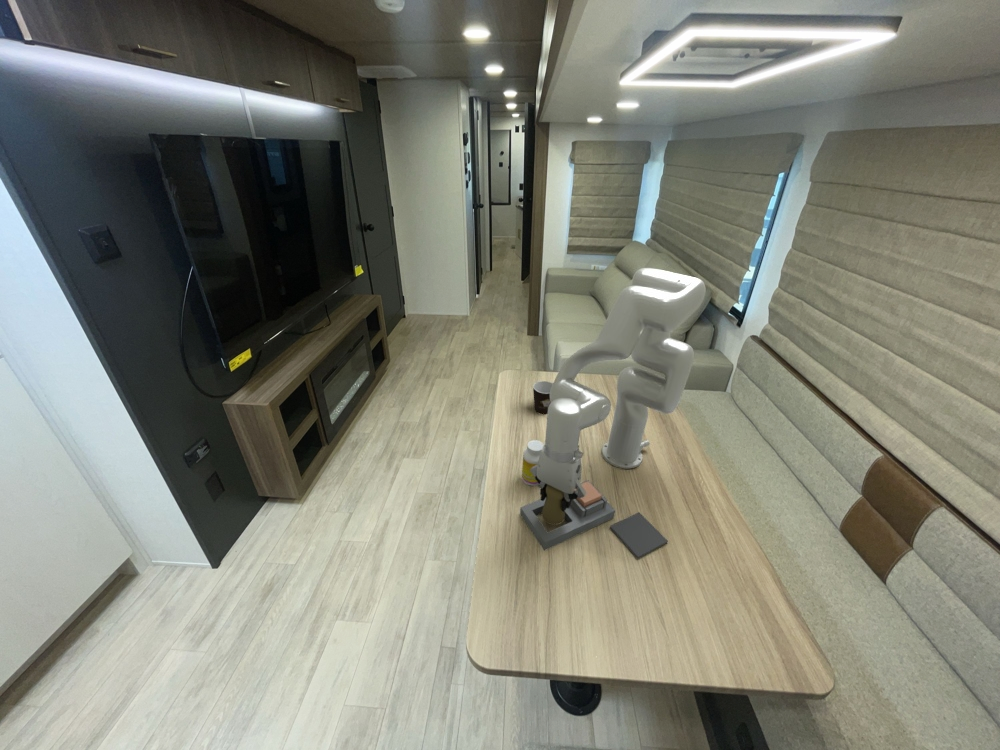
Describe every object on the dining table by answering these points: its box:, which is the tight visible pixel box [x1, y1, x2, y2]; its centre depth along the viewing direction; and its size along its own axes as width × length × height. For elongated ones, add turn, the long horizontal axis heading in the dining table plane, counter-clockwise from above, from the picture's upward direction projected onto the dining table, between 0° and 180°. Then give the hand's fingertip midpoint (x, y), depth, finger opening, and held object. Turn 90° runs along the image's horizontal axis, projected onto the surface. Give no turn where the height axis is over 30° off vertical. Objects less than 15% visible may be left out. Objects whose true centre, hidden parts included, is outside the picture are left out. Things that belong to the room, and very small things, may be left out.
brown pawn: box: [541, 484, 565, 526], centre depth 100 cm, size 6×6×11 cm
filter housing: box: [519, 480, 616, 551], centre depth 104 cm, size 22×12×6 cm, turn 117°
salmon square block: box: [574, 480, 603, 509], centre depth 105 cm, size 6×6×3 cm
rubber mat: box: [609, 512, 669, 560], centre depth 101 cm, size 10×10×1 cm
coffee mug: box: [532, 380, 554, 415], centre depth 145 cm, size 12×9×10 cm
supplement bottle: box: [521, 439, 545, 487], centre depth 114 cm, size 7×7×13 cm
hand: (554, 501), depth 100 cm, fingers closed on brown pawn, 5 cm apart
